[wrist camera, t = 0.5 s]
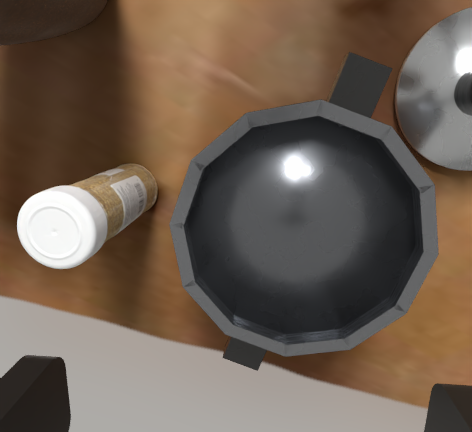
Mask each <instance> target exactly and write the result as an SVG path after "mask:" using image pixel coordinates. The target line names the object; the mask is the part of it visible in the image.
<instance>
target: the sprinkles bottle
mask: <svg viewBox="0 0 472 432" xmlns="http://www.w3.org/2000/svg"><path fill="white" fill-rule="evenodd" d="M157 191H158V187H157V183H156V180H155V178H154V176H153V175H152V174H151V172H150V171H148V170H147V169H146V168H145V167H143V166H141V165H138V164H123V165H120V166H118V167H117V168H115V169H111V170H108V171H105V172H102V173H99V174H96V175H94V176H92V177H90V178H88V179H85V180H83V181H80V182H76V183H74V184H72V185H69V186H67V185H63V186H56V187H53V188H50V189H47V190H44V191H42V192H39V193H37V194H35V195H33V196H32V197H30V198H29V199H28V200H27V201H26V202H25V203H24V205H23V206H22V208H21V209H20V212H19V215H18V219H17V231H18V236H19V239H20V241H21V244H22V245H23V247H24V249H25V250H26V251H27V253H28V254H29V255H30V256H31V257H32V258H34V259H35V260H36V261H38V262H39V263H41V264H43V265H45V266H48V267H51V268H55V269H68V268H72V267H76V266H78V265H80V264H82V263H83V262H85V261H86V260H87V259H89V258H90V257H92V256H93V255H94V254H95V253H96V252H97V251H98V250H99V249H100V248H101V247H102V245H103V244H104V243H105V242H106V241H107V240H109V239H110V238H112V237H114V236H115V235H116V234H118V233H119V232H120V231H122V230H123V229H124V228H125V227H127V226H128V225H129V224H130V223H132V222H133V221H134V220H135V219H137V218H138V217H139V216H140V215H141V214H142V213H144V212H145V211H148V210H149V209H150V208H151V207H152V206H153V205H154V203H155V201H156V199H157V194H158V192H157Z"/></svg>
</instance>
